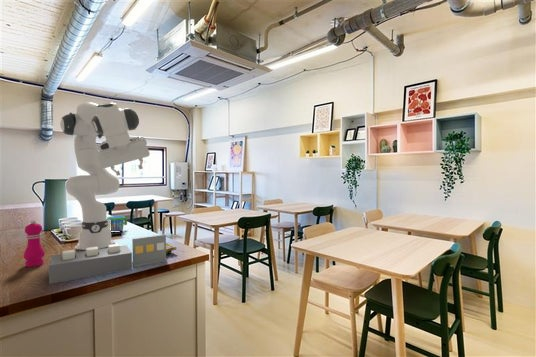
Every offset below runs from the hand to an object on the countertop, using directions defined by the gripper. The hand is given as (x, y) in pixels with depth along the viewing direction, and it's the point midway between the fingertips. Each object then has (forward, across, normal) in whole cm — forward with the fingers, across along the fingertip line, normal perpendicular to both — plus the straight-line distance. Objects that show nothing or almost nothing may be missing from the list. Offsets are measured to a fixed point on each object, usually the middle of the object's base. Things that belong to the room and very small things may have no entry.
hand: (130, 171), depth 125 cm
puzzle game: (+45, +1, -8) cm, 46 cm away
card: (+41, +5, +7) cm, 42 cm away
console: (+35, +26, +5) cm, 44 cm away
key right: (+32, +17, +4) cm, 37 cm away
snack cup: (+47, +16, -68) cm, 85 cm away
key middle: (+30, +25, +5) cm, 39 cm away
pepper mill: (+31, +48, -17) cm, 60 cm away
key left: (+27, +33, +5) cm, 43 cm away
